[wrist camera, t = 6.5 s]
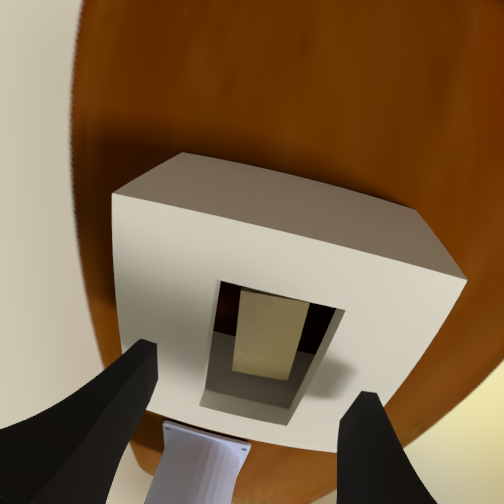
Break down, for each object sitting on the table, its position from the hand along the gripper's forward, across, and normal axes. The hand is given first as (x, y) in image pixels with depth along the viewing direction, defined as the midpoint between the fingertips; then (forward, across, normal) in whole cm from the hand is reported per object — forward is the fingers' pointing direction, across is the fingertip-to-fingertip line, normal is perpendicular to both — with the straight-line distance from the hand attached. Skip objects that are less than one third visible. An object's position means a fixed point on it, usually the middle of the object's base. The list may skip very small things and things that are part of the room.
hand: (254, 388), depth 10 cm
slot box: (+7, 0, 0) cm, 7 cm away
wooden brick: (+7, 0, 0) cm, 7 cm away
